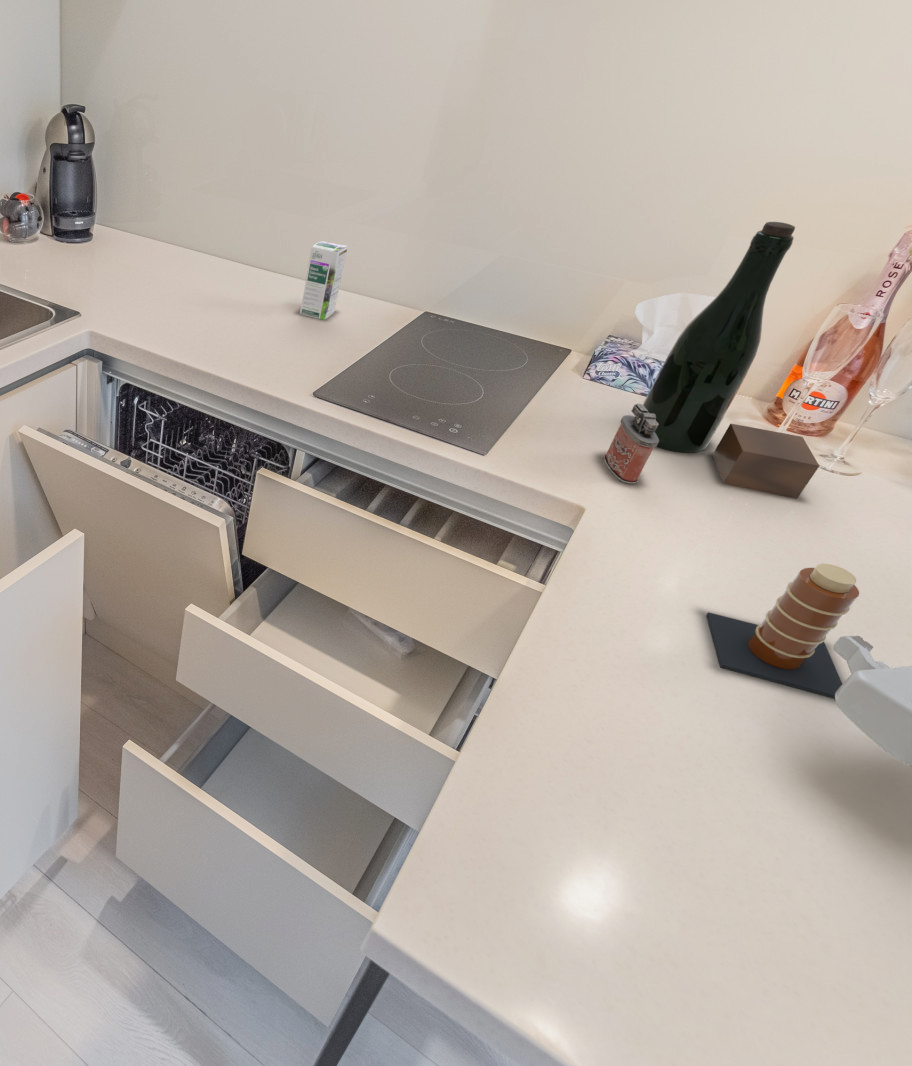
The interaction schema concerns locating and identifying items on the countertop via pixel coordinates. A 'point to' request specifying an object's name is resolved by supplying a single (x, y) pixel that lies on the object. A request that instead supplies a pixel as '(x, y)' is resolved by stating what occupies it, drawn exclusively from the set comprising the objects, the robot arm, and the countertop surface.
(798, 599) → the brown ringed jar
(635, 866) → the countertop surface
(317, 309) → the syrup box
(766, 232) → the dark green wine bottle
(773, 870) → the countertop surface
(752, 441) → the shelf
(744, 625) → the rubber mat
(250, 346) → the countertop surface
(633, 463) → the lighter
